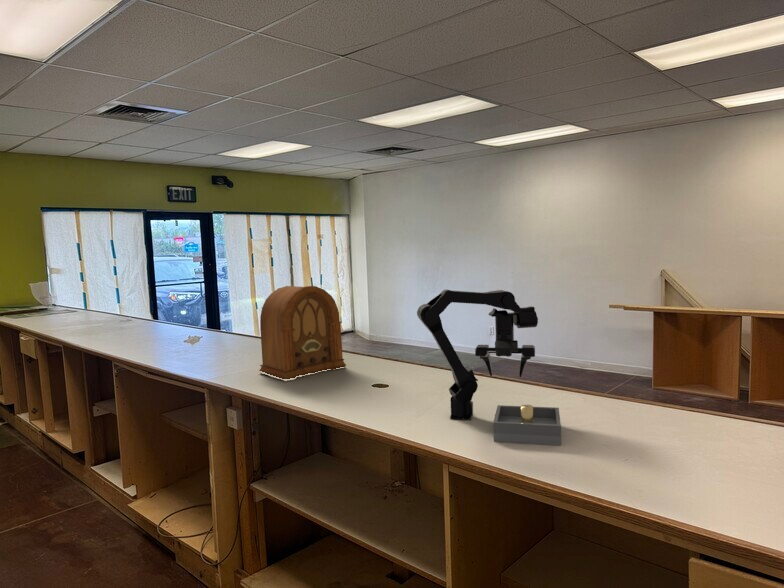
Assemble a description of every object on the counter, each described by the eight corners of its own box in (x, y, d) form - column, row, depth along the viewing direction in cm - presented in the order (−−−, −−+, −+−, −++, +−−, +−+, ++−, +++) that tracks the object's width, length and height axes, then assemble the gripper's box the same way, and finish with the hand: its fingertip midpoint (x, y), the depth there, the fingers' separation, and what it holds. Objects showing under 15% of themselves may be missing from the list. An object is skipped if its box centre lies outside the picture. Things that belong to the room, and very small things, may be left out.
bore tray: (493, 441, 145) (493, 422, 145) (498, 422, 160) (497, 405, 160) (561, 445, 140) (560, 425, 140) (559, 425, 155) (558, 407, 155)
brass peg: (521, 435, 149) (520, 408, 148) (521, 430, 152) (520, 404, 152) (533, 435, 148) (532, 408, 147) (533, 431, 151) (532, 404, 151)
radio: (285, 382, 222) (279, 289, 219) (259, 374, 239) (253, 288, 236) (346, 367, 244) (341, 283, 241) (318, 361, 261) (313, 282, 258)
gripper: (472, 333, 162) (474, 382, 163) (534, 333, 157) (535, 384, 158) (476, 327, 172) (477, 373, 174) (534, 327, 167) (535, 375, 169)
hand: (505, 376), depth 168 cm, fingers open, 9 cm apart
